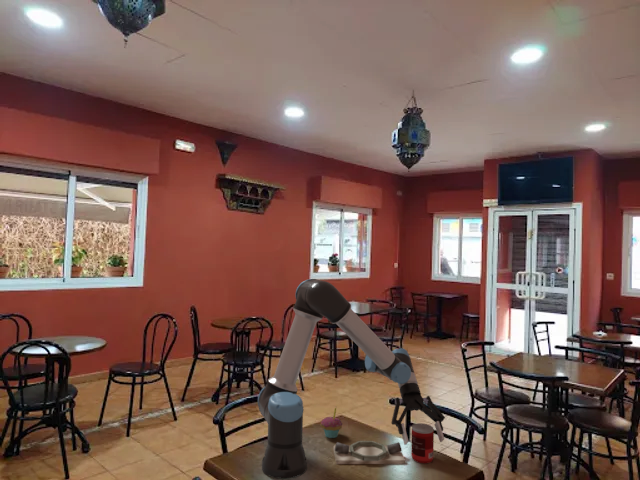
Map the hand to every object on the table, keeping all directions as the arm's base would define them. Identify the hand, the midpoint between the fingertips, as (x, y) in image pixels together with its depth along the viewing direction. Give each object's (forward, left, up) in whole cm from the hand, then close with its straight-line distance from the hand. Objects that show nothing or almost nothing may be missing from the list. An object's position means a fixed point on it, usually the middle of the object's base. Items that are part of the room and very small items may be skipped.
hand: (424, 441), depth 158 cm
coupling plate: (-16, -12, -6) cm, 21 cm away
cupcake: (-37, -8, -6) cm, 38 cm away
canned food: (-1, 0, -6) cm, 6 cm away
